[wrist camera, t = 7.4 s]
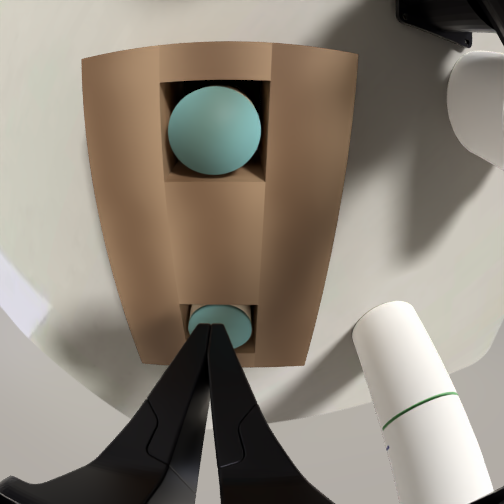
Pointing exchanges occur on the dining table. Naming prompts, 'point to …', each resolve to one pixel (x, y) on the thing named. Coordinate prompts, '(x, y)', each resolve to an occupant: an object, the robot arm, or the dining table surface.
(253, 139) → the peg
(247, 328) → the peg
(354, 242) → the dining table surface
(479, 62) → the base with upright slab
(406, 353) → the cylindrical container
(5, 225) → the dining table surface
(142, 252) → the socket block
